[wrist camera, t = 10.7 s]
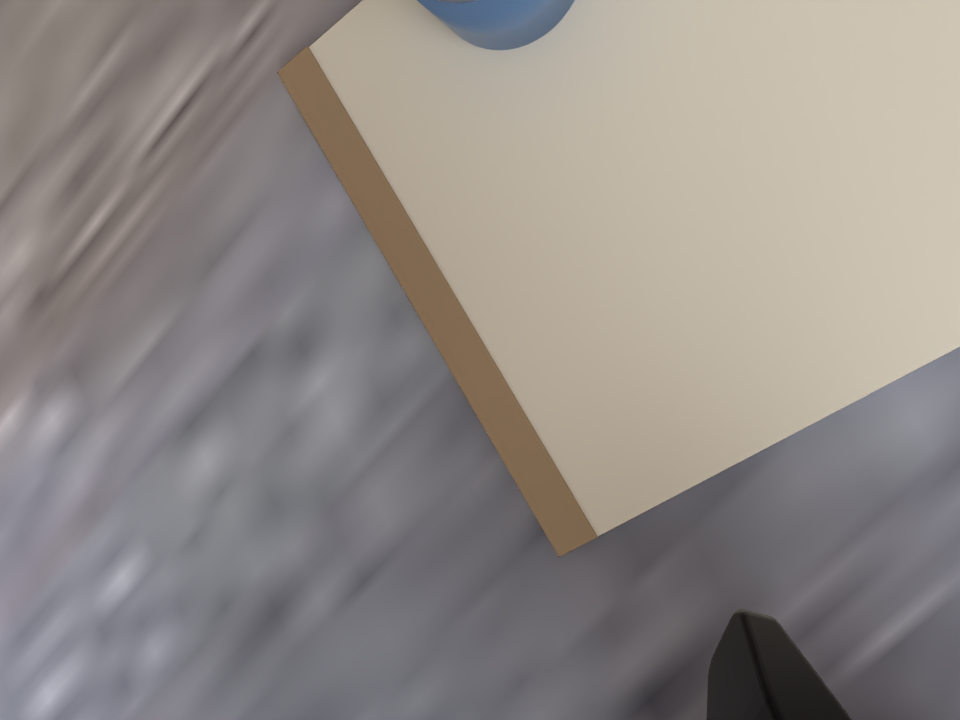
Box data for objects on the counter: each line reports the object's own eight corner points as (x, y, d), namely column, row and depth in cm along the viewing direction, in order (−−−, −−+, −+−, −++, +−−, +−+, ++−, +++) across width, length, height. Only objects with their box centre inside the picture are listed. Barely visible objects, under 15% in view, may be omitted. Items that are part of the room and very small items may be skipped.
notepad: (1195, 219, 17) (1208, 216, 16) (563, 551, 22) (559, 557, 21) (778, -351, 19) (779, -368, 18) (286, 76, 24) (276, 72, 23)
